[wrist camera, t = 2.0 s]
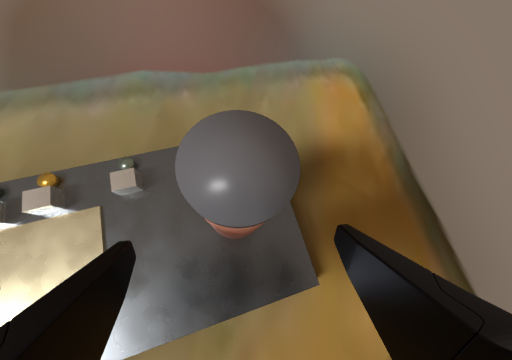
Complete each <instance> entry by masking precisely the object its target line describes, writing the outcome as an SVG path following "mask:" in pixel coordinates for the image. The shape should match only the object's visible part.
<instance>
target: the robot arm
mask: <svg viewBox="0 0 512 360" xmlns="http://www.w3.org/2000/svg"><path fill="white" fill-rule="evenodd" d="M334 242H335V245H336V248H337V250H338V253H339V255H340V258H341V260H342V262H343V265H344V267H345V270H346V272H347V274H348V276H349V278H350V280H351V282H352V284H353V286H354V288H355V290H356V292H357V294H358V296H359V297H360V299H361V301H362V303H363V305H364V307H365V309H366V311H367V313H368V315H369V317H370V318H371V320H372V322H373V324H374V326H375V328H376V330H377V332H378V334H379V336H380V338H381V339H382V341H383V343H384V345H385V347H386V349H387V351H388V353H389V355H390V357H391V359H392V360H512V314H511V313H509V312H507V311H505V310H503V309H501V308H499V307H497V306H495V305H493V304H491V303H489V302H487V301H485V300H483V299H481V298H479V297H477V296H475V295H473V294H471V293H469V292H468V291H466V290H464V289H462V288H460V287H458V286H456V285H454V284H453V283H451V282H449V281H447V280H445V279H444V278H442V277H440V276H438V275H436V274H435V273H432V272H431V271H429V270H428V269H426V268H424V267H422V266H420V265H419V264H417V263H415V262H413V261H412V260H410V259H408V258H406V257H405V256H403V255H401V254H399V253H397V252H396V251H394V250H392V249H390V248H389V247H387V246H385V245H383V244H381V243H380V242H378V241H376V240H374V239H373V238H371V237H369V236H367V235H366V234H364V233H362V232H360V231H358V230H357V229H355V228H353V227H351V226H350V225H348V224H341V225H338V226H337V229H336V233H335V237H334ZM135 261H136V253H135V250H134V247H133V245H132V242H131V241H129V240H125V241H119V242H117V243H115V244H114V245H113V246H111V247H110V248H109V249H107V250H106V251H104V252H103V253H102V254H100V255H99V256H98V257H96V258H95V259H93V260H92V261H91V262H89V263H88V264H86V265H85V266H84V267H82V268H81V269H80V270H78V271H77V272H75V273H74V274H73V275H71V276H70V277H69V278H67V279H66V280H64V281H63V282H62V283H60V284H59V285H57V286H56V287H55V288H53V289H52V290H51V291H49V292H48V293H46V294H45V295H44V296H42V297H41V298H40V299H38V300H37V301H35V302H34V303H33V304H31V305H30V306H28V307H27V308H26V309H24V310H23V311H22V312H20V313H19V314H17V315H16V316H15V317H13V318H12V319H11V321H8V322H6V323H5V324H3V325H2V326H1V327H0V360H101V357H102V355H103V352H104V350H105V347H106V345H107V342H108V340H109V337H110V335H111V332H112V330H113V327H114V325H115V322H116V320H117V317H118V315H119V312H120V310H121V307H122V305H123V302H124V299H125V296H126V293H127V290H128V286H129V283H130V279H131V276H132V272H133V268H134V265H135Z"/></svg>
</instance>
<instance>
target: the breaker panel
mask: <svg viewBox="0 0 512 360" xmlns="http://www.w3.org/2000/svg"><path fill="white" fill-rule="evenodd" d="M178 148H179V146H177V147H172V148H167V149H163V150H158V151H153V152H148V153H143V154H138V155H133V156H128V157H122V158H119V159H114V160H109V161H104V162H99V163H94V164H89V165H84V166H79V167H75V168H70V169H65V170H60V171H55V172H50V173H44V174H40V175H35V176H31V177H26V178H21V179H16V180H11V181H6V182H1V183H0V327H1V326H2V325H3V324H5V323H6V322H8V321H11V319H12V318H13V317H15V316H16V315H17V314H19V313H20V312H22V311H23V310H24V309H26V308H27V307H28V306H30V305H31V304H33V303H34V302H35V301H37V300H38V299H40V298H41V297H42V296H44V295H45V294H46V293H48V292H49V291H51V290H52V289H53V288H55V287H56V286H57V285H59V284H60V283H62V282H63V281H64V280H66V279H67V278H69V277H70V276H71V275H73V274H74V273H75V272H77V271H78V270H80V269H81V268H82V267H84V266H85V265H86V264H88V263H89V262H91V261H92V260H93V259H95V258H96V257H98V256H99V255H100V254H102V253H103V252H104V251H106V250H107V249H109V248H110V247H111V246H113V245H114V244H115V243H117V242H119V241H125V240H129V241H131V242H132V245H133V247H134V250H135V253H136V261H135V265H134V268H133V272H132V276H131V279H130V283H129V286H128V290H127V293H126V296H125V299H124V302H123V305H122V307H121V310H120V312H119V315H118V317H117V320H116V322H115V325H114V327H113V330H112V332H111V335H110V337H109V340H108V342H107V345H106V347H105V350H104V352H103V355H102V357H101V360H122V359H125V358H128V357H130V356H133V355H136V354H138V353H141V352H144V351H146V350H149V349H151V348H154V347H157V346H159V345H162V344H165V343H167V342H170V341H173V340H175V339H178V338H180V337H183V336H186V335H188V334H191V333H194V332H196V331H199V330H201V329H204V328H207V327H209V326H212V325H215V324H217V323H220V322H223V321H225V320H228V319H230V318H233V317H236V316H238V315H241V314H244V313H246V312H249V311H252V310H254V309H257V308H259V307H262V306H265V305H267V304H270V303H273V302H275V301H278V300H281V299H283V298H286V297H288V296H291V295H294V294H296V293H299V292H302V291H304V290H307V289H310V288H312V287H315V286H317V285H319V282H318V279H317V276H316V273H315V271H314V268H313V265H312V262H311V259H310V256H309V254H308V251H307V248H306V245H305V242H304V239H303V237H302V234H301V231H300V228H299V225H298V222H297V220H296V217H295V214H294V211H293V208H292V205H291V203H290V201H289V203H288V204H287V205H286V206H285V207H284V208H283V209H282V210H281V211H280V212H279V213H277V214H276V215H275V216H273V217H272V218H271V219H269V220H268V221H266V222H264V223H263V224H262V225H261V226H260V227H258V228H257V229H256V230H255V231H254V232H252V233H251V234H250V235H248V236H246V237H244V238H241V239H228V238H225V237H223V236H222V235H220V234H219V233H218V232H217V231H216V230H215V229H214V228H213V227H212V226H211V225H210V224H209V223H208V222H207V220H206V219H205V218H204V217H202V216H201V215H200V214H199V213H198V212H196V211H195V209H194V208H193V207H192V206H191V205H190V204H189V203H188V202H187V201H186V199H185V198H184V196H183V194H182V193H181V191H180V188H179V186H178V183H177V179H176V173H175V160H176V154H177V151H178Z"/></svg>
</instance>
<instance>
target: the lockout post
mask: <svg viewBox="0 0 512 360" xmlns="http://www.w3.org/2000/svg"><path fill="white" fill-rule="evenodd" d="M175 173H176V179H177V183H178V186H179V188H180V191H181V193H182V194H183V196H184V198H185V199H186V201H187V202H188V203H189V204H190V205H191V206H192V207H193V208H194V209H195V211H196V212H198V213H199V214H200V215H201V216H202V217H204V218H205V219H206V220H207V222H208V223H209V224H210V225H211V226H212V227H213V228H214V229H215V230H216V231H217V232H218V233H219V234H220V235H222V236H223V237H225V238H228V239H241V238H244V237H246V236H248V235H250V234H251V233H252V232H254V231H255V230H256V229H257V228H258V227H260V226H261V225H262V224H263V223H264V222H266V221H268V220H269V219H271V218H272V217H273V216H275V215H276V214H277V213H279V212H280V211H281V210H282V209H283V208H284V207H285V206H286V205H287V204H288V203H289V201H290V200H291V199H292V197H293V195H294V193H295V191H296V189H297V186H298V183H299V179H300V160H299V155H298V152H297V149H296V147H295V145H294V143H293V141H292V139H291V138H290V136H289V135H288V134H287V133H286V131H285V130H284V129H283V128H282V127H280V126H279V125H278V124H277V123H275V122H274V121H272V120H271V119H269V118H267V117H265V116H263V115H260V114H257V113H254V112H250V111H242V110H230V111H223V112H219V113H216V114H213V115H210V116H208V117H206V118H204V119H203V120H201V121H200V122H198V123H197V124H196V125H194V126H193V127H192V128H191V129H190V130H189V131H188V133H187V134H186V135H185V137H184V138H183V140H182V142H181V144H180V146H179V148H178V151H177V154H176V160H175Z"/></svg>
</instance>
